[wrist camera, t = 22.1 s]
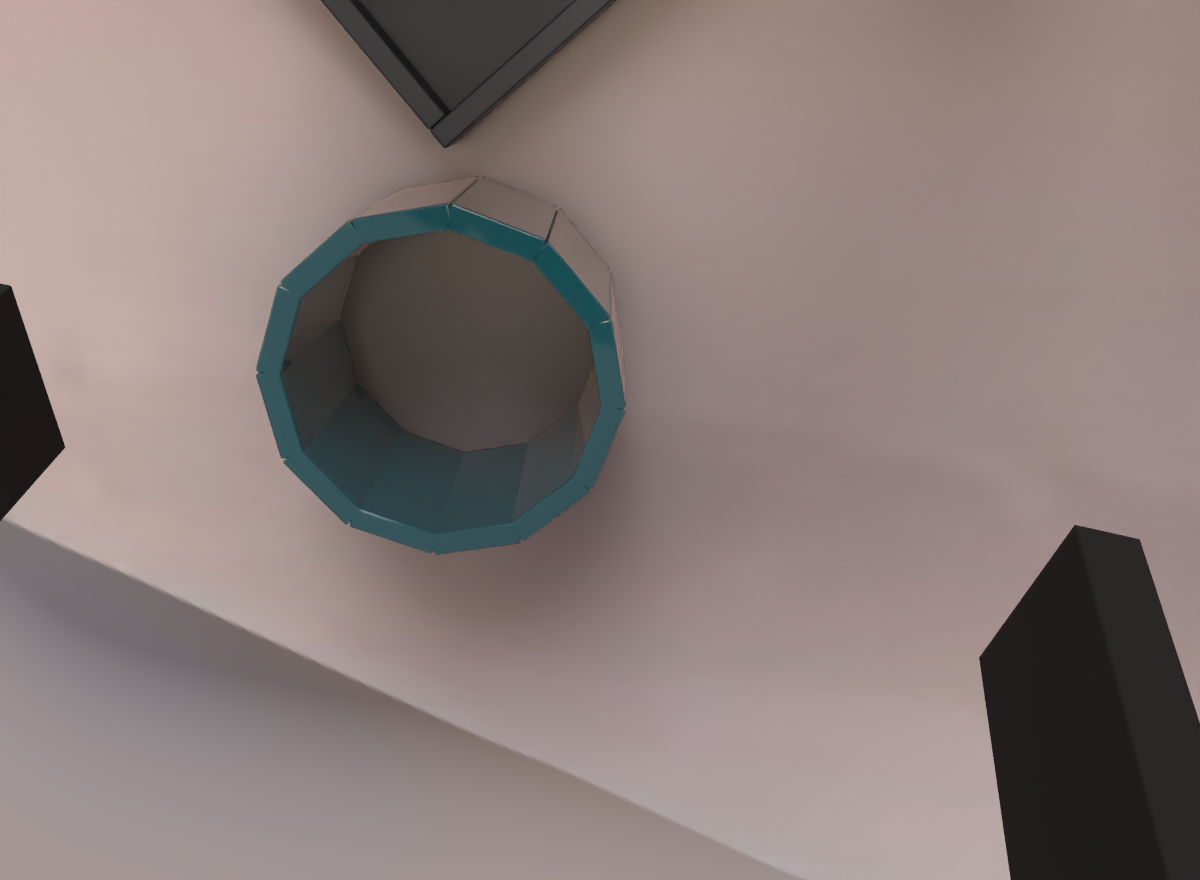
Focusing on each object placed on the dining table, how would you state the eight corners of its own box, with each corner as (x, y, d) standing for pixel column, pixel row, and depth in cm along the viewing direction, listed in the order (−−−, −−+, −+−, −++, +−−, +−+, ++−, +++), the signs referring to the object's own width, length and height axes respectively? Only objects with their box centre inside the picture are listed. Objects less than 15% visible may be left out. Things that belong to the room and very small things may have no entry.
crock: (677, 352, 38) (693, 416, 31) (461, 517, 41) (431, 610, 34) (484, 113, 35) (453, 125, 28) (263, 309, 38) (184, 365, 31)
